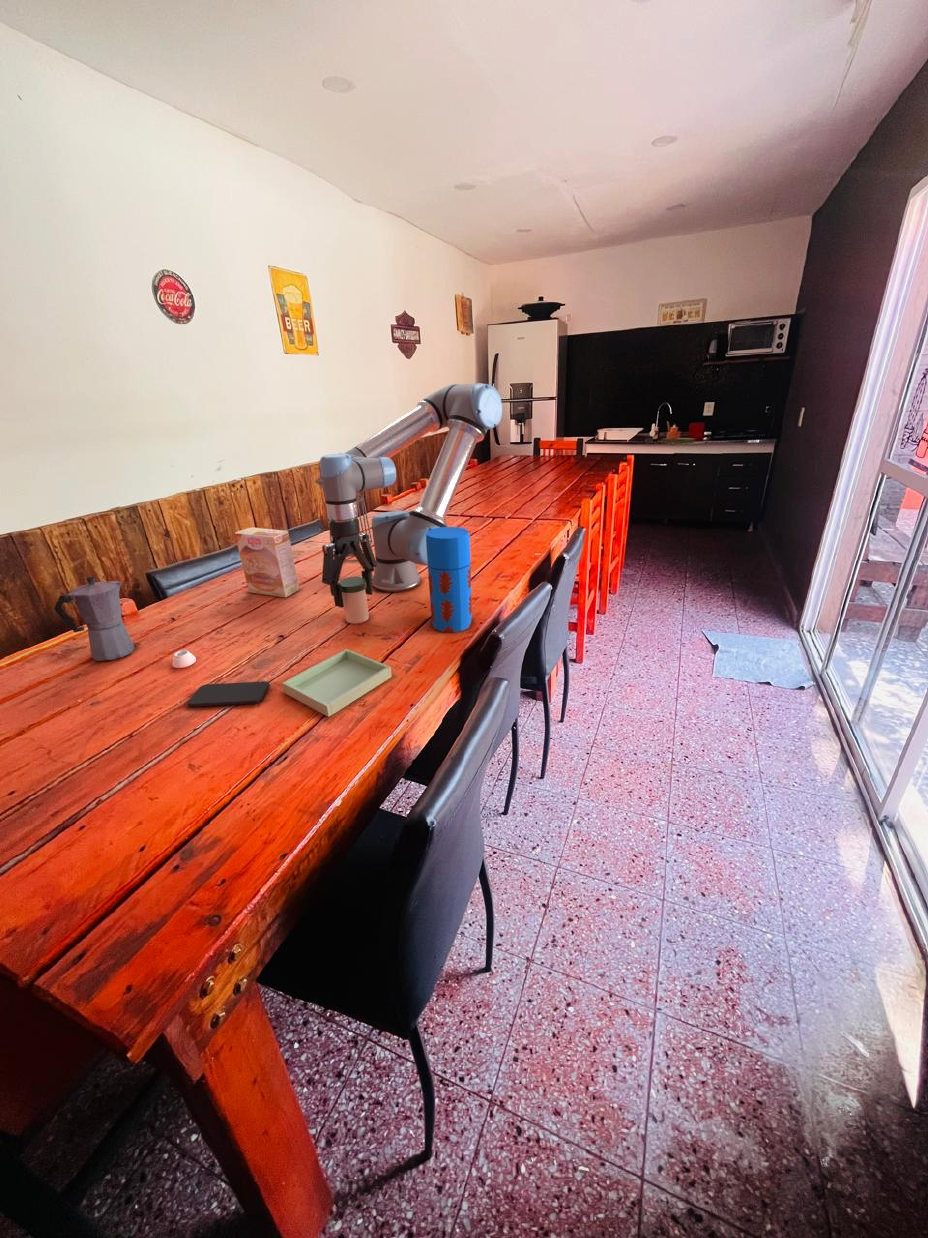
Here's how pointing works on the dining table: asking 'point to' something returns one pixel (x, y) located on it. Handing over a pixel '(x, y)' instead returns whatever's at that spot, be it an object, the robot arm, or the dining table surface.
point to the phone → (229, 694)
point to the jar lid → (353, 584)
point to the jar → (355, 607)
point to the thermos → (449, 578)
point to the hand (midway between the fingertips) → (354, 599)
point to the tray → (337, 681)
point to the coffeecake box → (267, 561)
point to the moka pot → (99, 618)
